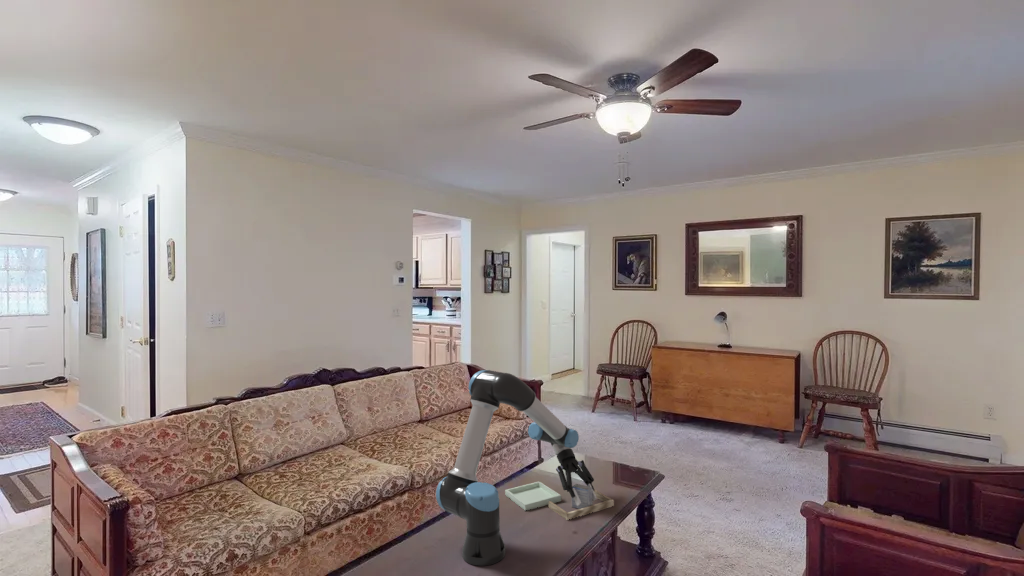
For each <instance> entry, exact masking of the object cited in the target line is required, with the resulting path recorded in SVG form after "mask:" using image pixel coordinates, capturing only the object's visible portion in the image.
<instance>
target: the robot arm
mask: <svg viewBox="0 0 1024 576" xmlns="http://www.w3.org/2000/svg"><path fill="white" fill-rule="evenodd" d="M468 390H469V395H470V398H469V399H470V401H469V402H471V405H472V407H471V410H470V413H469V417H468V418H467V419H468V420H467V423H466V425H465V426H466V427H465V430H464V432H463V437H462V440H461V443H460V446H459V450H458V453H457V455H456V456H457V457H456V460H455V464H454V467H453V468H452V469H450V470H449V471H448V472H447V475H446V476H445V477H443V478H442V479H441V480H440V481H439V482H438V484H437V486H436V490H435V498H436V502H437V505H438V506H439V507H440V509H442V510H444V511H445V512H447V513H448V514H452V515H454V516H456V517H458V518H461V519H464V520H465V521H466V522H465V523H466V535H465V538H464V542H463V545H462V548H461V549H462V550H461V552H462V553H461V554H462V558H463V559H462V560H464V561H465V562H466V563H468V564H469V565H472V566H477V567H478V566H481V567H482V566H483V567H485V566H492V565H494V564H496V563H498V562H500V561H502V560H503V559H504V558H505V556H506V544H505V541H504V539H503V536H502V533H501V529H500V528H501V527H500V526H501V525H500V521H501V520H500V519H501V518H500V498H499V491H498V489H497V487H495V486H494V485H493V484H491V483H488V482H482V481H479V479H478V478H477V472H478V467H479V464H480V460H481V457H482V453H483V450H484V446H485V442H486V440H487V436H488V433H489V430H490V426H491V422H492V418H493V415H494V412H495V411H497V410H499V408H500V406H501V405H500V404H505V405H508V406H511V407H513V408H514V409H515V410H517V411H518V412H523V413H524V414H525V415H526V416H527V417H529V419H530V420H532V421H533V422H531V423H530V424H529V426H528V431H527V433H528V436H529V438H530V439H532V440H535V441H542V442H546V443H550V445H551V447H552V449H553V451H554V454H555V455H556V458H557V460H558V463H559V464H560V465H558V466H557V467H556V469H555V470H556V472H557V474H558V477H559V479H560V483H561V486H562V489H563V491H567V492H569V495H570V497H571V499H572V498H574V500H575V502H576V505H577V506H579V505H580V504H581V501H580V499H579V497H578V494H577V492H576V490H575V488H573V489H572V486H573V481H572V480H573V479H572V473H575V475H577V476H578V477H579V478H580V479H581V481H583V483H584V484H585V486H589V487H592V495H593V502H595V501H596V500H597V499H598V498H597V497H596V495H595V493H594V491H595V490H596V489H595V488H594V486H593V482H594V481H595V478H594V477H593V475H592V474H591V472H590V471H589V469H588V468H587V466H586V464H585V461H584V460H583V459H581V461H580V460H577V458H576V454H575V452H574V451H573V449H572V448H575V447H576V446H577V445H578V442H579V438H580V435H579V433H578V431H577V430H576V429H573V428H568V426H566V425H565V424H564V423H563V422H562V421H561V420H560V418H558V417H557V416H556V415H555V414H554V413H553V412H552V411H551V410H550V409H549V408H548V407H547V406H546V405H545V404H544V403H543V402H541V401H540V399H539V398H538V397H537V395H536V393H535V391H534V390H533V389H532V388H531V387H530V386H529V385H528V384H527V383H525V382H524V381H523V380H522V379H521V378H519V377H518V376H516V375H514V374H511V373H509V372H501V371H496V370H490V369H488V370H485V369H482V370H479V371H477V372H475V373H474V374H473V375H472V377H470V380H469V383H468ZM564 471H565V473H564ZM594 489H595V490H594Z"/></svg>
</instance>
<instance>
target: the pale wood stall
mask: <svg viewBox="0 0 1024 576" xmlns="http://www.w3.org/2000/svg"><path fill="white" fill-rule="evenodd" d="M594 490H595V491H594V493H595V495H596V497H597V499H599V501H602V502H598V503H595V504H593V505H591V506H588V507H585V508H581V509H578V508H577V509H575V510H572V511H568V512H567V511H566V510H565V509H563V508H562V507H560V506H559V505H557V504H556V503H553V502H551V501H549V504H548V508H549V509H550V510H551V511H552V512H554V513H556V514H557V513H558V515H559V516H560V517H561V518H563V519H564V518H565V519H564V520H565V521H570V520H573V519H576V518H575V517H577V518H579V517H578V516H580V517H582V515H583V516H586V515H590V514H592V512H593V513H596V512H599V511H603V510H605V509H610V508H613V507H615V500H614V499H612V498H610V497H609V496H607V495H605V494H604V493H602V492H600V491H599V490H596V489H595V488H594ZM612 506H613V507H612ZM589 513H590V514H589ZM572 518H573V519H572ZM569 519H570V520H569Z"/></svg>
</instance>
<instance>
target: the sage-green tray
mask: <svg viewBox="0 0 1024 576" xmlns="http://www.w3.org/2000/svg"><path fill="white" fill-rule="evenodd" d="M504 493H505V494H504V495H506V496H505V497H507V498H508V499H509V498H510V499H511V500H510V499H509V500H510V501H512V502H513V503H514V502H515V503H514V504H516V505H517V506H518V507H519V506H520V507H519V508H521V509H522V510H523V509H524V510H523V511H525V512H526V510H527V511H531V510H534V509H538V508H540V507H544V506H549V501H551V502H553V503H554V504H556V503H560V502H562V495H561V494H560V493H558V492H557V491H555V490H554V489H552V488H551V487H549V486H547V485H545V484H544V483H543V482H541V481H535V482H532V483H531V482H530V483H527V484H523V485H519V486H516V487H512V488H508V489H505V490H504ZM537 507H538V508H537ZM530 509H531V510H530Z"/></svg>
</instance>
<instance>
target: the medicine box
mask: <svg viewBox="0 0 1024 576" xmlns="http://www.w3.org/2000/svg"><path fill="white" fill-rule="evenodd" d="M573 488H575V490H576V492H577V494H578V497H579V499H580V501H581V504H580V505H579V506H577V505H576V502H575V500H574V498H572V497H571V508H575V509H577V510H578V509H581V508H585V507H588V506H591V505H594V501H593V495H592V487H589V486H587V485H584V484H579V483H575V484H573V485H572V489H573Z"/></svg>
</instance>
